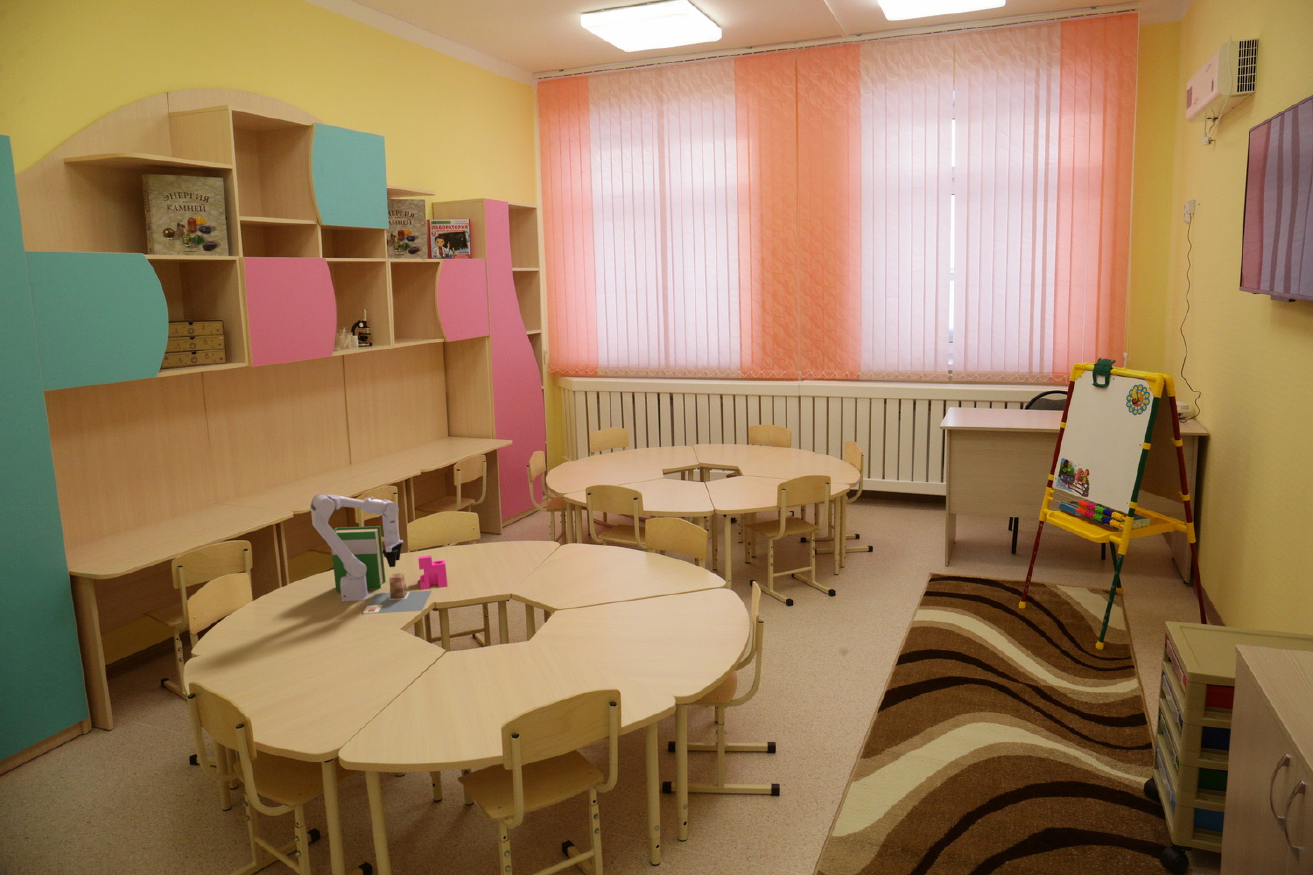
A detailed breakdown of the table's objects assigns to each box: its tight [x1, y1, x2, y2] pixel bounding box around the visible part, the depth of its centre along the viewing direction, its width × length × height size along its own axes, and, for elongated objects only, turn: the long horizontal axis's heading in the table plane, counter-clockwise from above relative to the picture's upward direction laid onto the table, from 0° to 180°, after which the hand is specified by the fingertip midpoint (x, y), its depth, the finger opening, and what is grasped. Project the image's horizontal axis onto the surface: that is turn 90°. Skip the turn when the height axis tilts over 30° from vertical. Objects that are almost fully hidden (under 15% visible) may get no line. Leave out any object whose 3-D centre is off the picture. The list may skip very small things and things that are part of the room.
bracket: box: [417, 554, 448, 591], centre depth 357 cm, size 12×10×10 cm
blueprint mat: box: [361, 590, 432, 615], centre depth 339 cm, size 22×20×1 cm
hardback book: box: [330, 525, 387, 592], centre depth 356 cm, size 18×7×24 cm, turn 90°
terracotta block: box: [389, 572, 406, 590], centre depth 344 cm, size 4×4×4 cm
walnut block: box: [389, 583, 408, 599], centre depth 345 cm, size 5×5×4 cm
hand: (394, 563), depth 353 cm, fingers open, 7 cm apart
